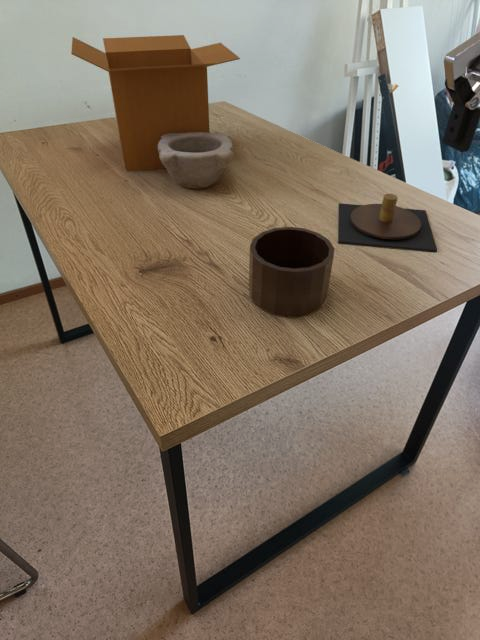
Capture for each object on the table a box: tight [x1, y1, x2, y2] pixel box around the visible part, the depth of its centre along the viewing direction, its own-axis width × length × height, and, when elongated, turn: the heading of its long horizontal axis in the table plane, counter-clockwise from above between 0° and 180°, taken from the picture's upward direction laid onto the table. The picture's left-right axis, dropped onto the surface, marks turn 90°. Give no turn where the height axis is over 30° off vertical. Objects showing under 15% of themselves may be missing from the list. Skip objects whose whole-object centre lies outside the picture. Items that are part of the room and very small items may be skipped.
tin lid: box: [350, 193, 421, 239], centre depth 88 cm, size 14×14×6 cm
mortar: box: [158, 132, 235, 190], centre depth 104 cm, size 17×17×9 cm
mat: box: [337, 203, 438, 253], centre depth 90 cm, size 18×16×1 cm
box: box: [71, 34, 241, 172], centre depth 112 cm, size 36×40×26 cm
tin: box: [248, 226, 335, 318], centre depth 71 cm, size 13×13×8 cm
